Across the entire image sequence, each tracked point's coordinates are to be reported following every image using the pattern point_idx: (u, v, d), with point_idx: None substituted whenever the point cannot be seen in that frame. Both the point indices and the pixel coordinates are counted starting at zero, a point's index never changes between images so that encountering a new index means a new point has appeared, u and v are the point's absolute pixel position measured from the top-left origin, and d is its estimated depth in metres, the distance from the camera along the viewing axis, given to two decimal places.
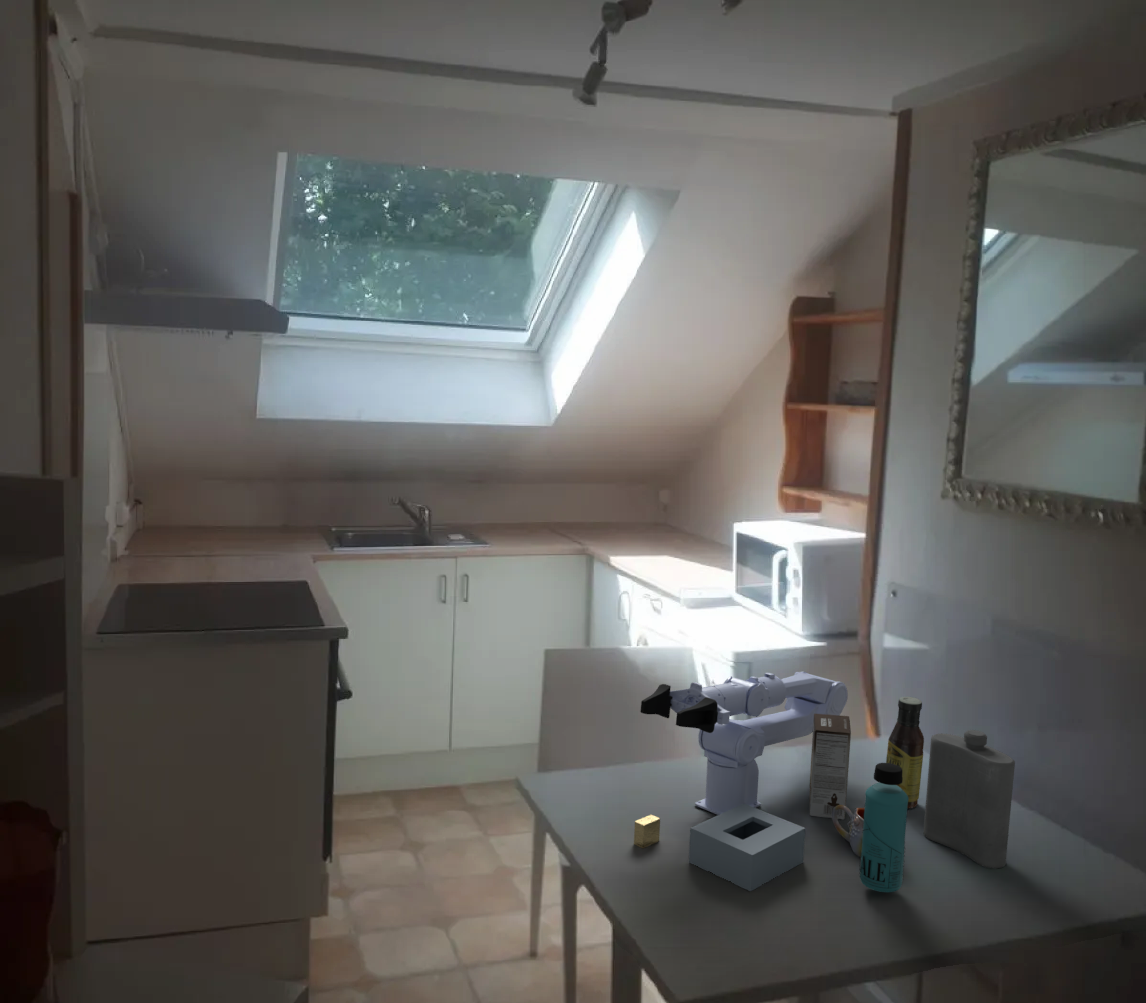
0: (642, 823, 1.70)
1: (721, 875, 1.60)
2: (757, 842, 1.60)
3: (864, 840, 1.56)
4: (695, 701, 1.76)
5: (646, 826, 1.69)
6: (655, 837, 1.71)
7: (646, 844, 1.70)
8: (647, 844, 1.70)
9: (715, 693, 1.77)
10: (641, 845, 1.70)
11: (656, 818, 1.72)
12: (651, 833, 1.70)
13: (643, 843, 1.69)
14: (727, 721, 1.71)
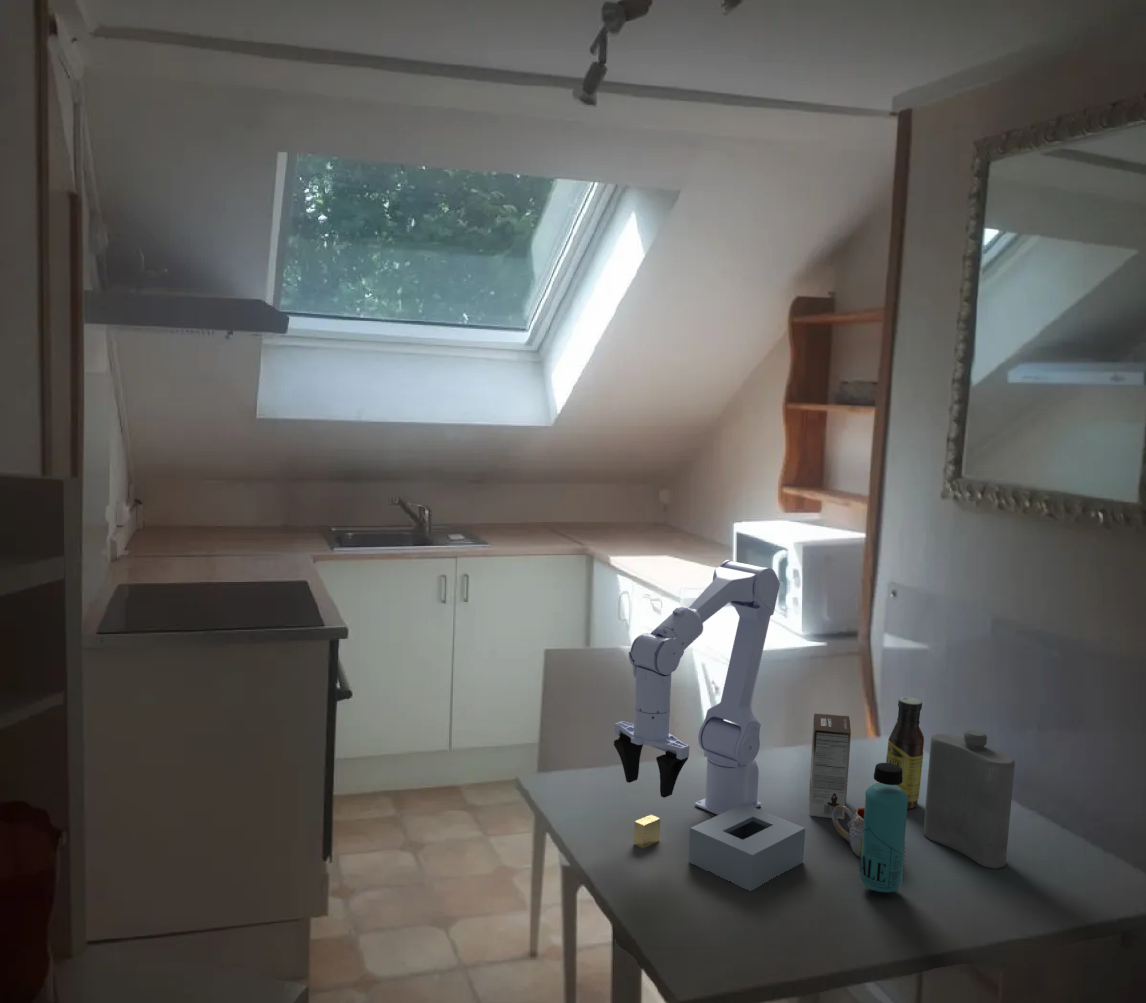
0: (642, 823, 1.70)
1: (721, 875, 1.60)
2: (757, 842, 1.60)
3: (864, 840, 1.56)
4: None
5: (646, 826, 1.69)
6: (655, 837, 1.71)
7: (646, 844, 1.70)
8: (647, 844, 1.70)
9: (650, 723, 1.66)
10: (641, 845, 1.70)
11: (656, 818, 1.72)
12: (651, 833, 1.70)
13: (643, 843, 1.69)
14: (687, 748, 1.64)
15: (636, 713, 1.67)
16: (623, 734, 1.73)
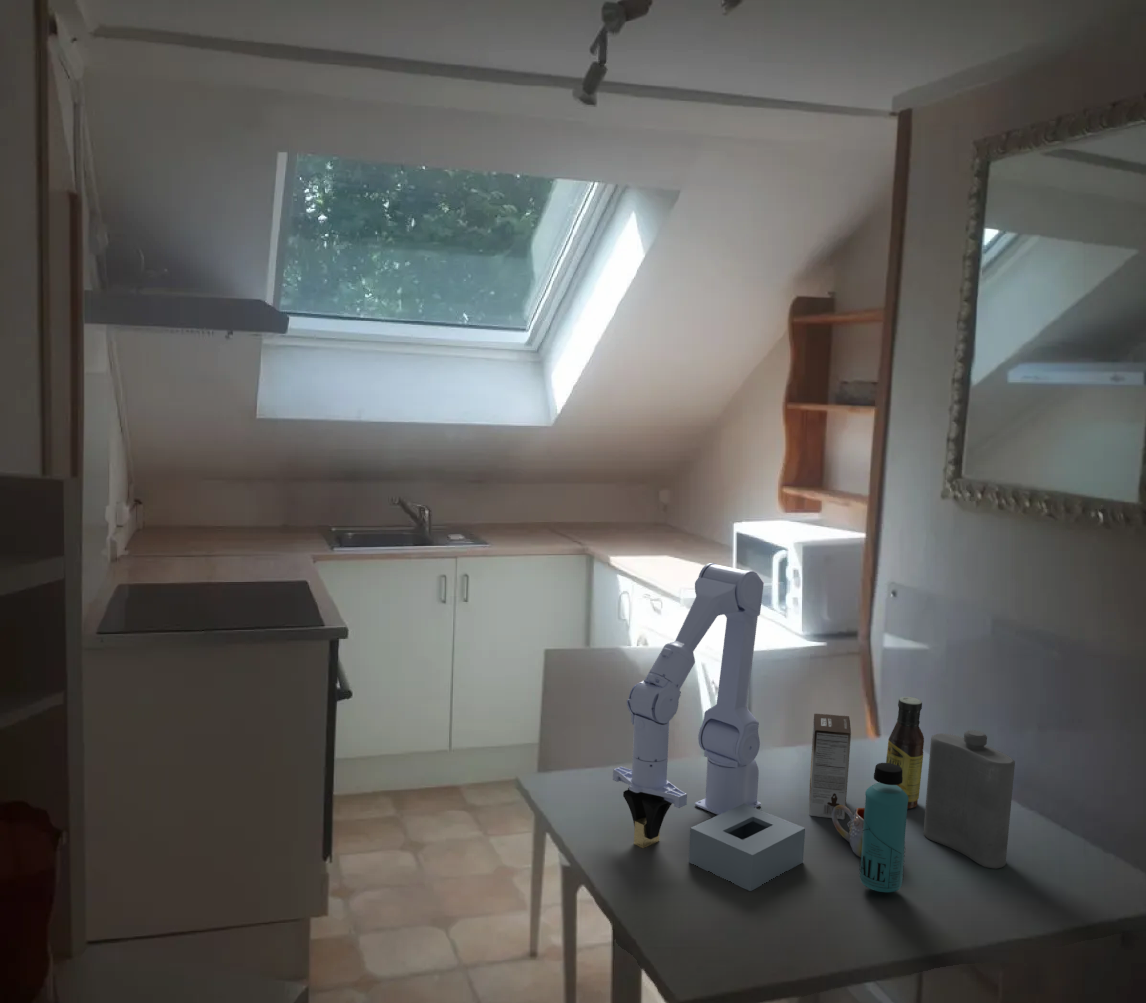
0: (642, 823, 1.70)
1: (721, 875, 1.60)
2: (757, 842, 1.60)
3: (864, 840, 1.56)
4: None
5: None
6: (655, 837, 1.71)
7: (646, 844, 1.70)
8: (647, 844, 1.70)
9: (648, 771, 1.67)
10: (641, 845, 1.70)
11: None
12: None
13: (643, 842, 1.69)
14: (685, 796, 1.65)
15: (634, 761, 1.68)
16: None
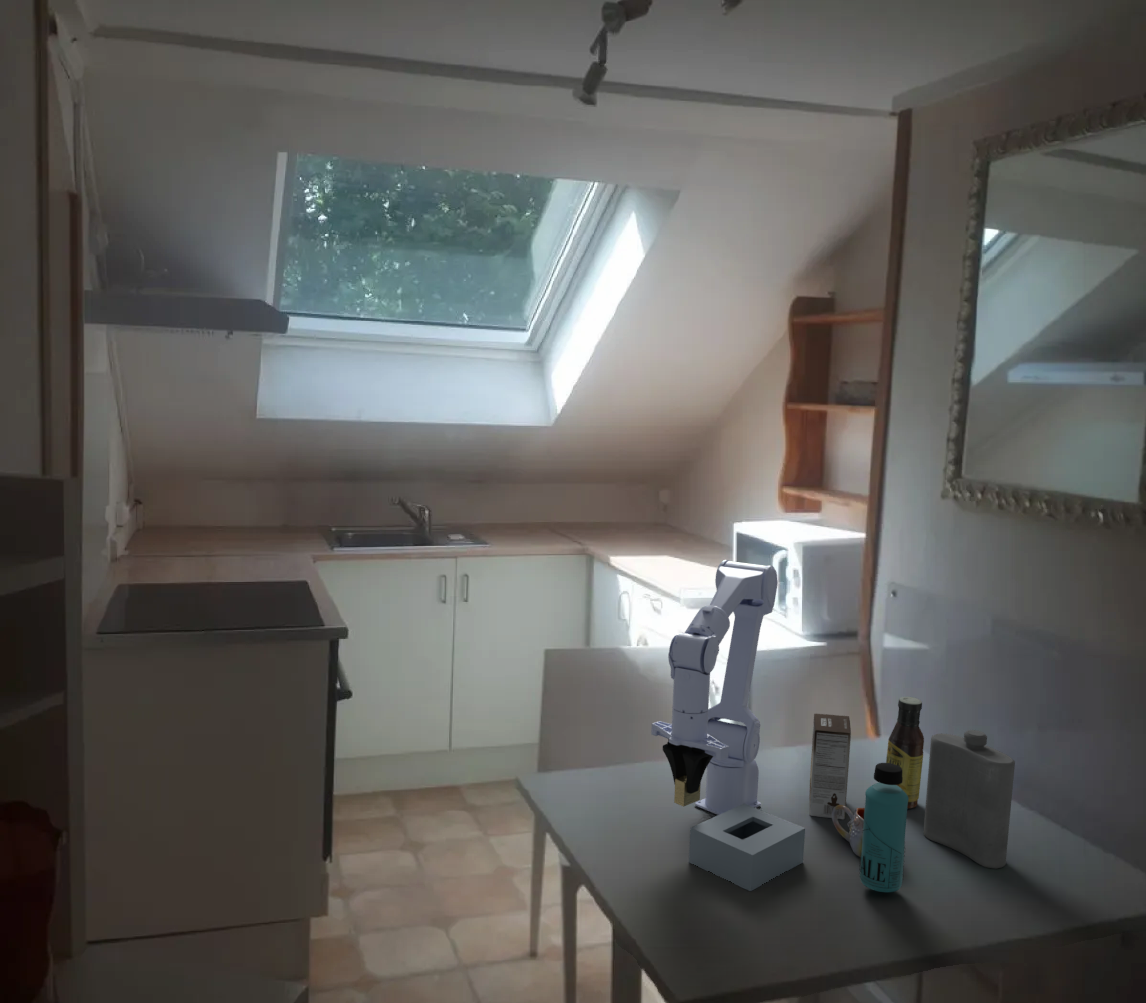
0: (683, 780, 1.66)
1: (721, 875, 1.60)
2: (757, 842, 1.60)
3: (864, 840, 1.56)
4: None
5: None
6: (696, 795, 1.68)
7: (687, 802, 1.67)
8: (688, 802, 1.67)
9: (689, 723, 1.63)
10: (682, 803, 1.66)
11: None
12: None
13: (683, 801, 1.66)
14: (727, 749, 1.62)
15: (674, 713, 1.65)
16: None
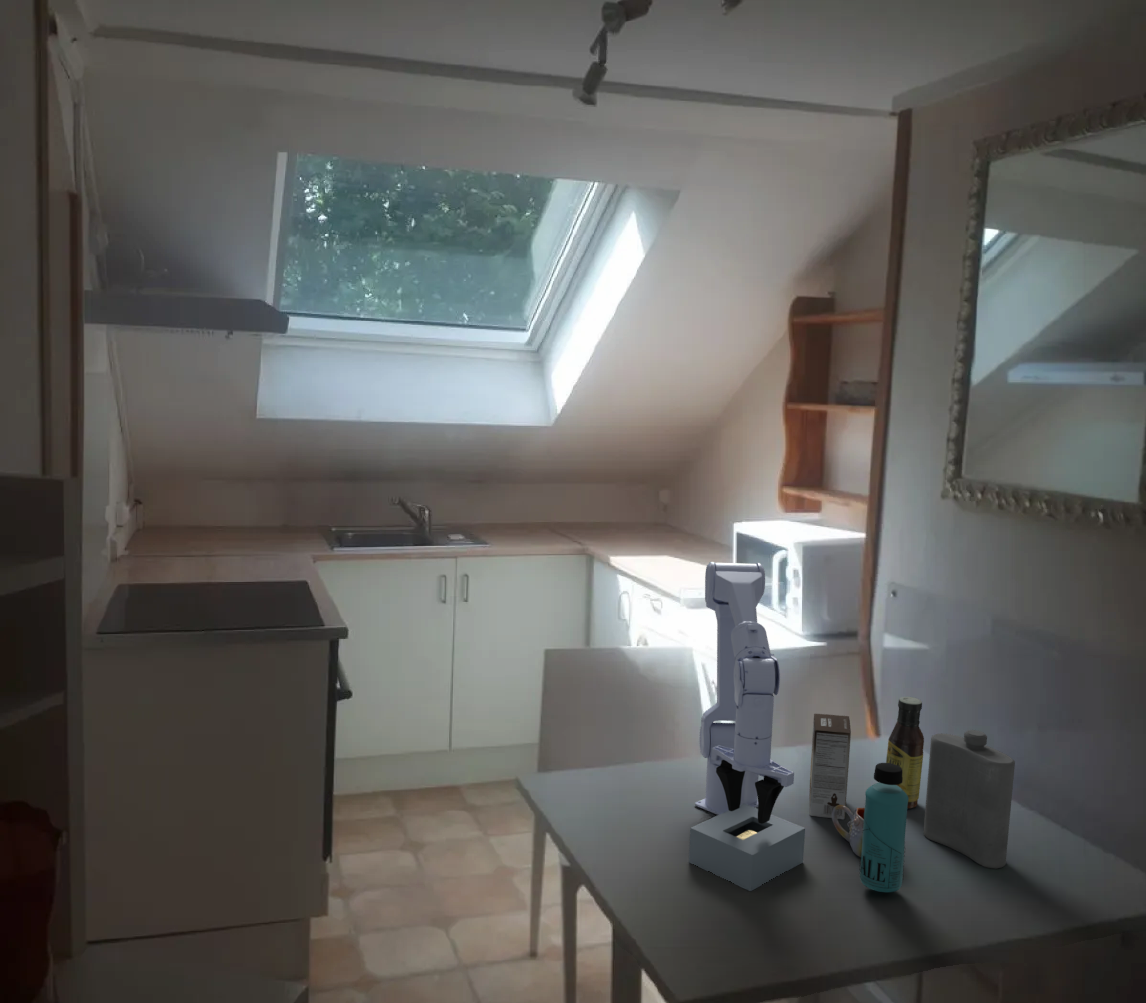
0: (743, 839, 1.64)
1: (721, 875, 1.60)
2: (757, 842, 1.60)
3: (864, 840, 1.56)
4: None
5: None
6: None
7: None
8: None
9: (753, 748, 1.60)
10: None
11: (755, 833, 1.66)
12: None
13: None
14: (792, 775, 1.59)
15: (737, 738, 1.62)
16: (725, 761, 1.66)
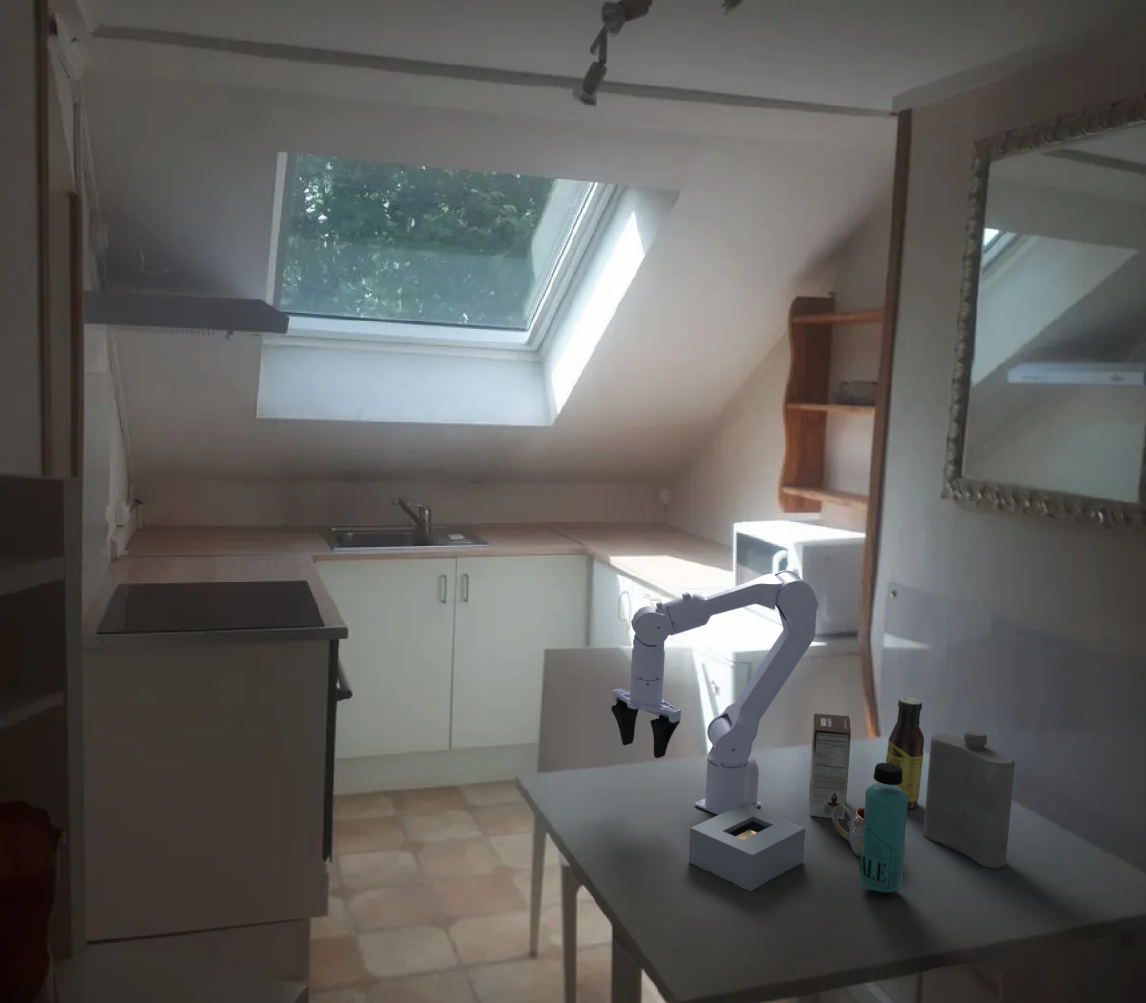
0: (743, 839, 1.64)
1: (721, 875, 1.60)
2: (757, 842, 1.60)
3: (864, 840, 1.56)
4: None
5: None
6: None
7: None
8: None
9: (645, 689, 1.80)
10: None
11: (755, 833, 1.66)
12: None
13: None
14: (679, 712, 1.78)
15: (632, 680, 1.81)
16: (620, 700, 1.86)
